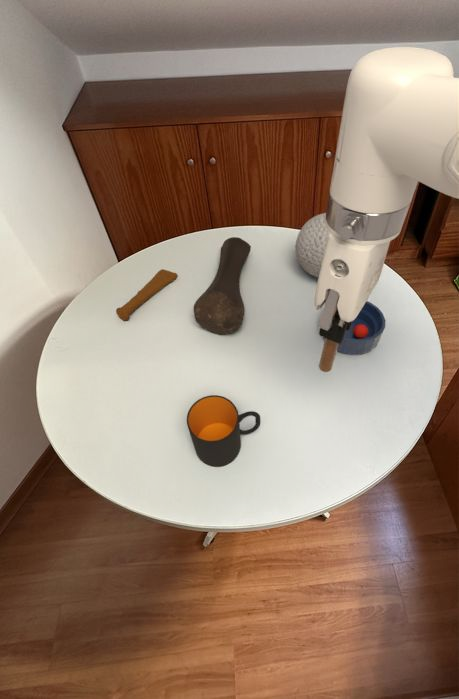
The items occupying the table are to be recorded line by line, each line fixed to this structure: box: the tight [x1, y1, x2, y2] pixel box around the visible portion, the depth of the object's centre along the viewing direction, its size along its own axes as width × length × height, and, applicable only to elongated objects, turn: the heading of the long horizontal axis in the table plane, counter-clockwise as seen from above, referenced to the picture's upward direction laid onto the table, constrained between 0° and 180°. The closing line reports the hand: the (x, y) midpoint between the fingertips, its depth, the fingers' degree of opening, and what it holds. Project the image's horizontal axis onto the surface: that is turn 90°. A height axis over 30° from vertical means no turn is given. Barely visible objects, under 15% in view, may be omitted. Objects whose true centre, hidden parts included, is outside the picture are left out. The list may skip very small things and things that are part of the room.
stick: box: [318, 311, 339, 373], centre depth 52 cm, size 2×2×14 cm
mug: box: [186, 394, 261, 468], centre depth 62 cm, size 8×12×10 cm
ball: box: [353, 324, 368, 339], centre depth 78 cm, size 3×3×3 cm
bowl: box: [322, 300, 386, 356], centre depth 78 cm, size 12×12×5 cm
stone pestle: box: [193, 236, 252, 336], centre depth 87 cm, size 11×10×28 cm
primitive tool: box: [115, 268, 179, 322], centre depth 90 cm, size 19×6×4 cm, turn 152°
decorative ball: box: [295, 212, 330, 278], centre depth 87 cm, size 15×15×15 cm
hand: (334, 331), depth 51 cm, fingers closed on stick, 2 cm apart
